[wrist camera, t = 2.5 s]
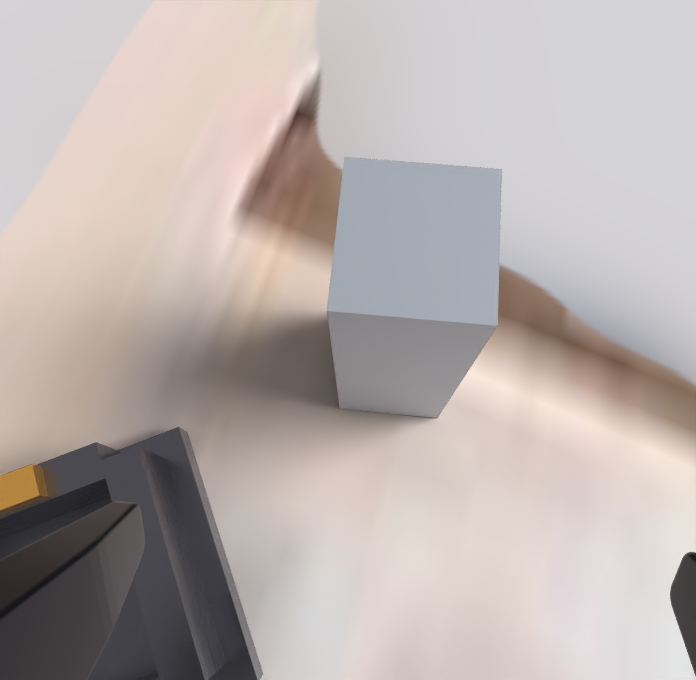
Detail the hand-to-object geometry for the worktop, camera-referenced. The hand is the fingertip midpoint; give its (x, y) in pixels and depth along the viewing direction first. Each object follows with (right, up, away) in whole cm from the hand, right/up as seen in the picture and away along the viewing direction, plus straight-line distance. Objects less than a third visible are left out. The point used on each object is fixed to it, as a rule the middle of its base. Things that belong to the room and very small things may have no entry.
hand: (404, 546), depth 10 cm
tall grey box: (+1, +2, +15) cm, 15 cm away
